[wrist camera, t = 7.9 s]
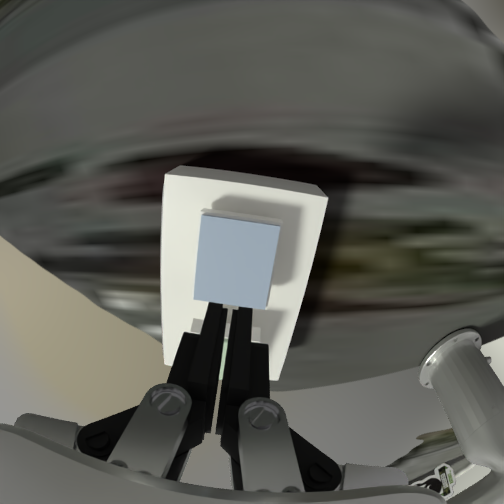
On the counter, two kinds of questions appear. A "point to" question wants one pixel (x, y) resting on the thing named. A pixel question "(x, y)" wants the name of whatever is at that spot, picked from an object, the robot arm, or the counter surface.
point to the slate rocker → (235, 258)
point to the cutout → (439, 481)
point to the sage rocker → (197, 328)
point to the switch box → (247, 202)
